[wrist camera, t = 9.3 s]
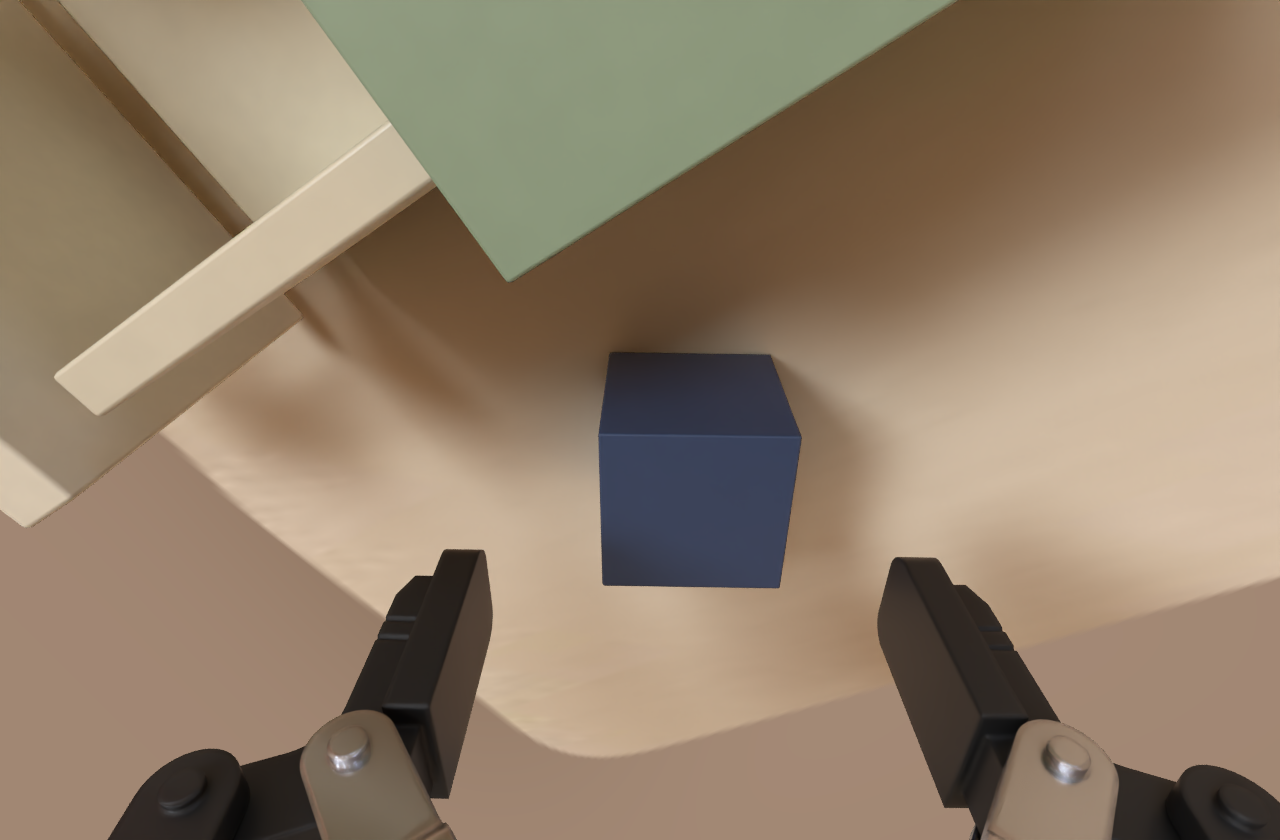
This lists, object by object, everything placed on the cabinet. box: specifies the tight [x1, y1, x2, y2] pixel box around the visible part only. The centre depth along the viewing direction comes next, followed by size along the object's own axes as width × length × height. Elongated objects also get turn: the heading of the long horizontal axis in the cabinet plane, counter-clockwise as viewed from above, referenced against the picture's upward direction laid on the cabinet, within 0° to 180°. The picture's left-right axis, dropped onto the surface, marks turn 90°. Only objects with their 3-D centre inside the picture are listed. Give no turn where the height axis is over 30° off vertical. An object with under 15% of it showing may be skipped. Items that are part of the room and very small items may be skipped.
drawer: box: [0, 0, 436, 528], centre depth 10 cm, size 19×11×8 cm, turn 122°
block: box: [598, 353, 802, 588], centre depth 17 cm, size 4×4×4 cm
